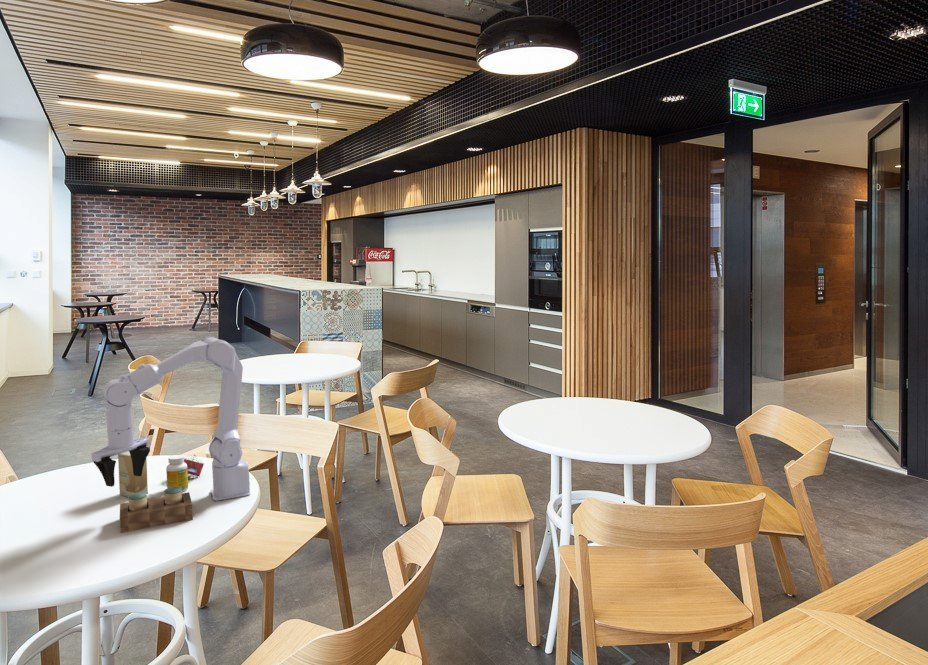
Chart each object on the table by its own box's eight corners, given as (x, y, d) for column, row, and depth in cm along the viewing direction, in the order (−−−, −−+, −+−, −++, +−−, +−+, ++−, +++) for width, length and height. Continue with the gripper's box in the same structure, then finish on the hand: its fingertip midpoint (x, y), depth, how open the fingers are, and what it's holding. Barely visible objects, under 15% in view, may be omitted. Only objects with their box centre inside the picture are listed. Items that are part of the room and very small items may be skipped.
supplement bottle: (180, 494, 172) (178, 460, 171) (163, 492, 173) (161, 459, 172) (192, 487, 177) (190, 454, 176) (175, 485, 179) (174, 453, 177)
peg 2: (181, 500, 160) (180, 485, 160) (182, 506, 157) (182, 490, 156) (164, 503, 158) (163, 488, 158) (165, 509, 155) (164, 493, 154)
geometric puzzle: (210, 465, 190) (192, 446, 188) (207, 472, 183) (189, 453, 181) (191, 480, 189) (172, 461, 186) (187, 488, 182) (168, 469, 180)
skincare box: (119, 495, 171) (116, 453, 170) (132, 490, 175) (130, 448, 174) (135, 499, 169) (133, 455, 167) (149, 493, 173) (146, 451, 171)
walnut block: (190, 506, 164) (189, 492, 163) (192, 519, 156) (192, 504, 155) (121, 518, 156) (120, 503, 156) (120, 532, 148) (119, 516, 148)
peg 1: (147, 506, 156) (146, 491, 156) (147, 512, 153) (146, 496, 152) (129, 509, 155) (128, 494, 154) (129, 515, 151) (128, 499, 151)
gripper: (135, 419, 162) (138, 469, 163) (81, 433, 149) (86, 487, 150) (154, 422, 159) (157, 473, 161) (101, 437, 146) (105, 492, 147)
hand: (124, 480), depth 155 cm, fingers open, 7 cm apart
